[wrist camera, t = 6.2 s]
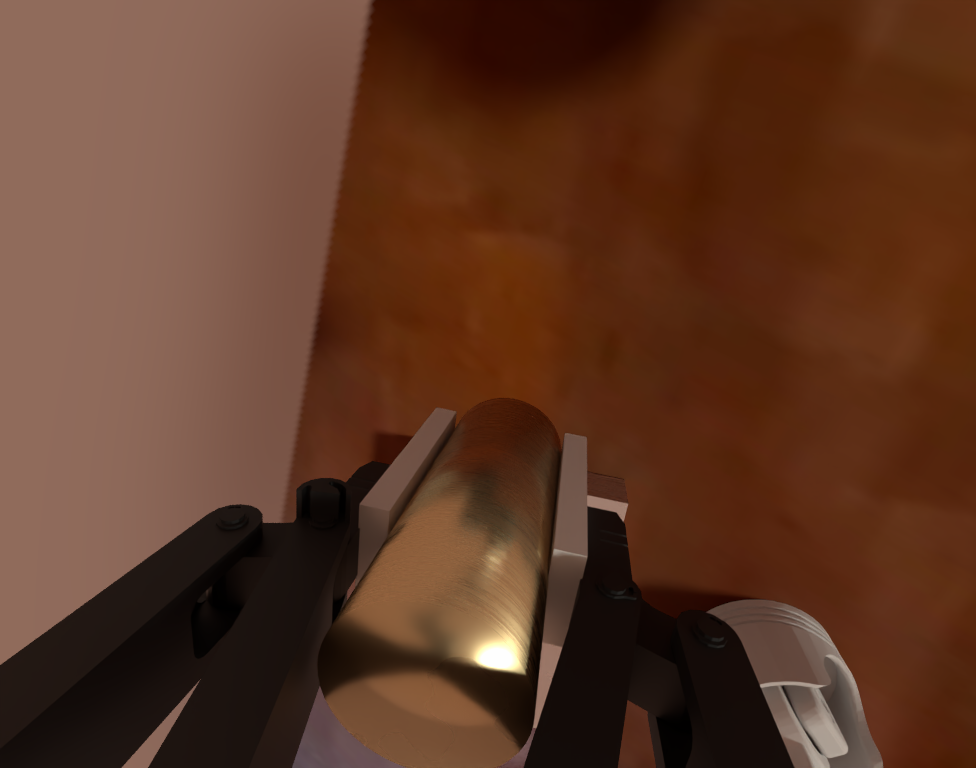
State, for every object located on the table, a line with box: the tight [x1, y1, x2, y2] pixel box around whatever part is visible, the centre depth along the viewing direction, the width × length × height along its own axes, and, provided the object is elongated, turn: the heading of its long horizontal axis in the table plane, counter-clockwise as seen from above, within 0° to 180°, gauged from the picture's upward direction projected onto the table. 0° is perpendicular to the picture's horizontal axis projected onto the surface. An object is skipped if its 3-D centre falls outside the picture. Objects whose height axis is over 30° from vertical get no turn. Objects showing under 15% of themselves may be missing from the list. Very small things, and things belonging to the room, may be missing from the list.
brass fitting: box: [317, 398, 561, 768], centre depth 13 cm, size 4×4×10 cm
